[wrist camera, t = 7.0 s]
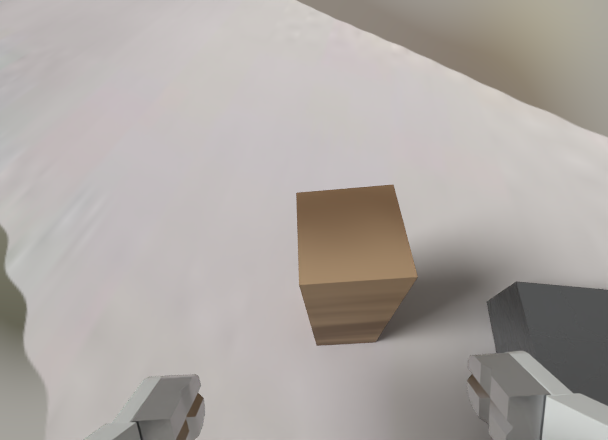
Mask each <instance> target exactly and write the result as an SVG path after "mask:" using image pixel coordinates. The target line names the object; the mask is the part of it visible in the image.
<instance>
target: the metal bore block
mask: <svg viewBox="0 0 608 440" xmlns="http://www.w3.org/2000/svg"><path fill="white" fill-rule="evenodd" d="M487 306H488V311H489V316H490V321H491V326H492V331H493V336H494V342H495V347H496V352H497V353H505V352H513V351H525V352H527V353H529V354H530V355H531V356H532V357H533V358H534V359H535V360H536V361H538V362H539V363H540V364H541V365H542V366H543V367H544V368H545V369H547V370H548V371H549V372H550V373H551V374H552V375H553V376H554V377H556V378H557V379H558V380H559V381H560V382H561V383H562V384H563V385H565V386H566V387H567V388H568V389H569V390H570V391H571V392H572V393H574V394H576V393H580V394H582V395H585V396H587V397H589V398H591V399H593V400H596V401H598V402H600V403H602V404H604V405H607V406H608V290H604V289H592V288H581V287H570V286H559V285H548V284H537V283H526V282H515V283H514V284H512V285H511V286H509V287H508V288H506V289H505V290H503V291H502V292H501V293H499V294H498V295H496V296H495V297H493V298H492V299H490V300H489V301H487Z"/></svg>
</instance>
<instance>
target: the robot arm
mask: <svg viewBox="0 0 608 440" xmlns="http://www.w3.org/2000/svg"><path fill="white" fill-rule="evenodd" d="M468 369H469V370H470V371H471V373H472V375H471V376H470V377H469V379H468V380H467V392H468V396H469V400H470V403H471V405H472V407H473V409H474V411H475V413H476V414H477V416H478V417H479V418H480V419H482V420H483V421H485V422H486V423H488V424H489V432H488V433H489V434H490V436H491V437H492V439H493V440H608V406H607V405H604V404H602V403H600V402H598V401H596V400H593V399H591V398H589V397H587V396H585V395H582V394H580V393H576V394H574V393H572V392H571V391H570V390H569V389H568V388H567V387H566V386H565V385H563V384H562V383H561V382H560V381H559V380H558V379H557V378H556V377H554V376H553V375H552V374H551V373H550V372H549V371H548V370H547V369H545V368H544V367H543V366H542V365H541V364H540V363H539V362H538V361H536V360H535V359H534V358H533V357H532V356H531V355H530V354H529V353H527V352H525V351H513V352H505V353H495V354H482V355H470V356H469V358H468ZM200 387H201V383H200V379H199V376H198V375H196V374H192V375H169V376H154V377H147V378H146V379H144V380H143V381H142V383H141V384H140V385H139V387H138V388H137V389H136V391H135V392H134V394H133V395H132V396H131V398H130V399H129V400H128V402H127V403H126V404H125V406H124V407H123V408H122V410H121V411H120V412H119V414H118V415H117V417H116V418H115V419H114V421H113V422H112V423H111V424H105V425H104V426H102V427H101V428H99V429H98V430H96V431H95V432H93V433H92V434H90V435H89V436H88V437H86V438H85V439H83V440H195V439H196V438H197V437H198V436H199V435H200V432H201V429H202V426H203V422H204V416H205V404H204V398H203V397H202V396H201V395H200V394H199V393H198V391H199V389H200Z"/></svg>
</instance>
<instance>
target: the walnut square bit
mask: <svg viewBox="0 0 608 440" xmlns="http://www.w3.org/2000/svg"><path fill="white" fill-rule="evenodd" d="M296 196H297V229H298V261H299V286H300V289H301V293H302V296H303V300H304V303H305V307H306V310H307V313H308V317H309V320H310V324H311V327H312V331H313V334H314V338H315V341H316V344H317V346H319V345H336V344H354V343H372V342H376V341H377V339H378V337H379V336H380V334H381V333H382V331H383V330H384V328H385V327H386V325H387V324H388V322H389V320H390V319H391V317H392V316H393V314H394V313H395V311H396V310H397V308H398V307H399V305H400V304H401V302H402V300H403V299H404V297H405V296H406V294H407V293H408V291H409V290H410V288H411V287H412V285H413V284H414V282H415V280H416V279H417V277H418V276H417V272H416V268H415V265H414V261H413V257H412V253H411V250H410V246H409V242H408V238H407V234H406V231H405V227H404V223H403V219H402V215H401V212H400V208H399V204H398V200H397V197H396V193H395V189H394V185H383V186H372V187H360V188H348V189H336V190H325V191H313V192H301V193H296Z"/></svg>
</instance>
